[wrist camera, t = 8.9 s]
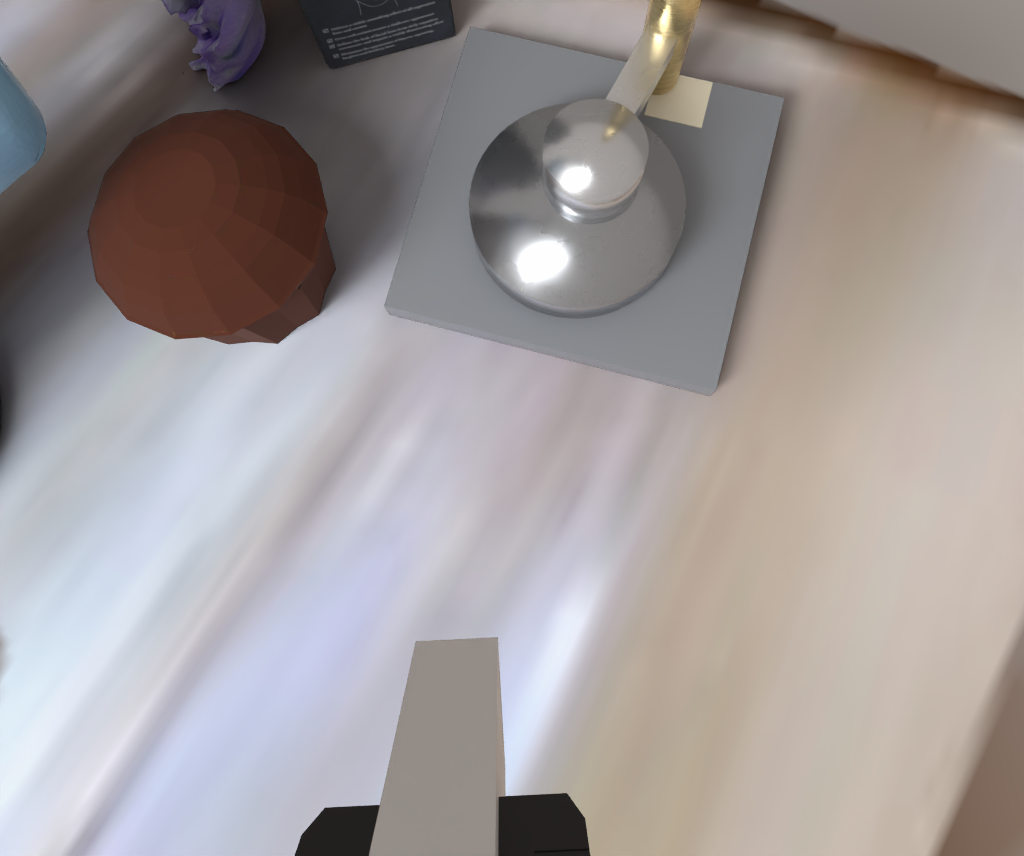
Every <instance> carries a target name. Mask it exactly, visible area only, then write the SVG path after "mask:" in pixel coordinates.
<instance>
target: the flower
mask: <svg viewBox="0 0 1024 856" xmlns="http://www.w3.org/2000/svg"><path fill="white" fill-rule="evenodd" d="M162 2H163V3H164V5H165V7H166V9H167V10H168V12H169V13H170V14H171V15H172V14H174V13H179V17H180V18H181V19H183V20H184V21H186V22H188V23H189V25H190V26H189V31H191V32H192V33H193V34H194V35H195V36H196V37H198V42H197V44H196V46H195V47H194V48H193V50H192V51H193V53H195V54H200V55H201V57H200V58H199V59H197V60H194V61H191V62H190V63H189V65H190V67H191V68H192V69H193V70H194V71H196V70H201V69H207V74H208V79H209V83H210V84H212V85H213V86H214V87H215V88H214V89H213V90H214V92H216V91H217V90H219V89H220V88H221V87H222V86H224V85H225V84H226V83H228V82H233V81H237V80H239V79H240V78H241V77H242V76H243V75H244V74H245V73H246V71H247V70H248V69H249V68H250V66H251V65H252V64H253V63H254V61H255V60H256V58H257V57H258V55H259V53H260V51H261V50H262V47H263V43H264V40H265V32H266V26H265V18H264V14H263V10H262V5H261V0H162ZM183 74H184V73H183Z"/></svg>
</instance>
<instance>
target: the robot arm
mask: <svg viewBox="0 0 1024 856" xmlns="http://www.w3.org/2000/svg"><path fill="white" fill-rule="evenodd" d="M46 134H47V132H46V127H45V122H44V119H43V117H42V114H41V113H40V111H39V109H38V107H37V106H36V104H35V103H34V102H33V100H32V99H31V97H30V96H29V94H28V93H27V92H26V90H25V89H24V88H23V86H22V85H21V84H20V82H19V81H18V80H17V78H16V77H15V76H14V74H13V73H12V72H11V71H10V69H9V68H8V67H7V65H6V64H5V63H4V61H3V60H2V59H1V57H0V194H1V193H2V192H3V191H4V190H5V189H7V188H8V187H9V186H10V185H11V184H12V183H14V182H15V181H16V180H17V179H18V178H20V177H21V176H22V175H23V174H24V173H26V172H27V171H28V170H29V169H30V168H32V167H33V166H34V165H35V164H36V163H37V162H38V160H39V159H40V157H41V156H42V154H43V152H44V150H45V144H46ZM0 424H1V400H0ZM295 856H590V852H589V843H588V836H587V829H586V823H585V818H584V816H583V815H582V814H581V812H580V811H579V809H578V808H577V807H576V805H575V804H574V802H573V801H572V800H571V798H570V797H569V795H568V794H567V793H562V794H542V795H522V796H505V756H504V739H503V721H502V704H501V686H500V669H499V651H498V637H495V638H475V639H455V640H434V641H416V643H415V647H414V652H413V657H412V661H411V666H410V670H409V675H408V679H407V684H406V688H405V693H404V698H403V702H402V707H401V711H400V716H399V720H398V725H397V729H396V734H395V739H394V743H393V748H392V752H391V757H390V761H389V766H388V770H387V775H386V780H385V784H384V789H383V793H382V798H381V802H380V805H371V806H351V807H331V808H324V810H323V811H322V812H321V813H320V814H319V815H318V817H317V818H316V819H315V820H314V821H313V822H312V824H311V825H310V826H309V827H308V828H307V829H306V831H305V832H304V833H303V834H302V836H301V839H300V842H299V845H298V847H297V850H296V853H295Z"/></svg>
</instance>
